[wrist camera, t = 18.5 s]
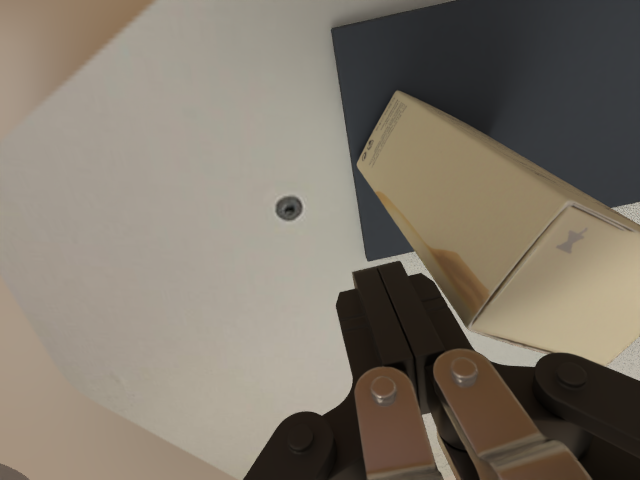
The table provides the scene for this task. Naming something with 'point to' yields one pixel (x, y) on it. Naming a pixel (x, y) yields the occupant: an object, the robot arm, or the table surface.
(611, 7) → the mat
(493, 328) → the cosmetic box
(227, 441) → the table surface
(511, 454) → the robot arm
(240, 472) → the table surface
